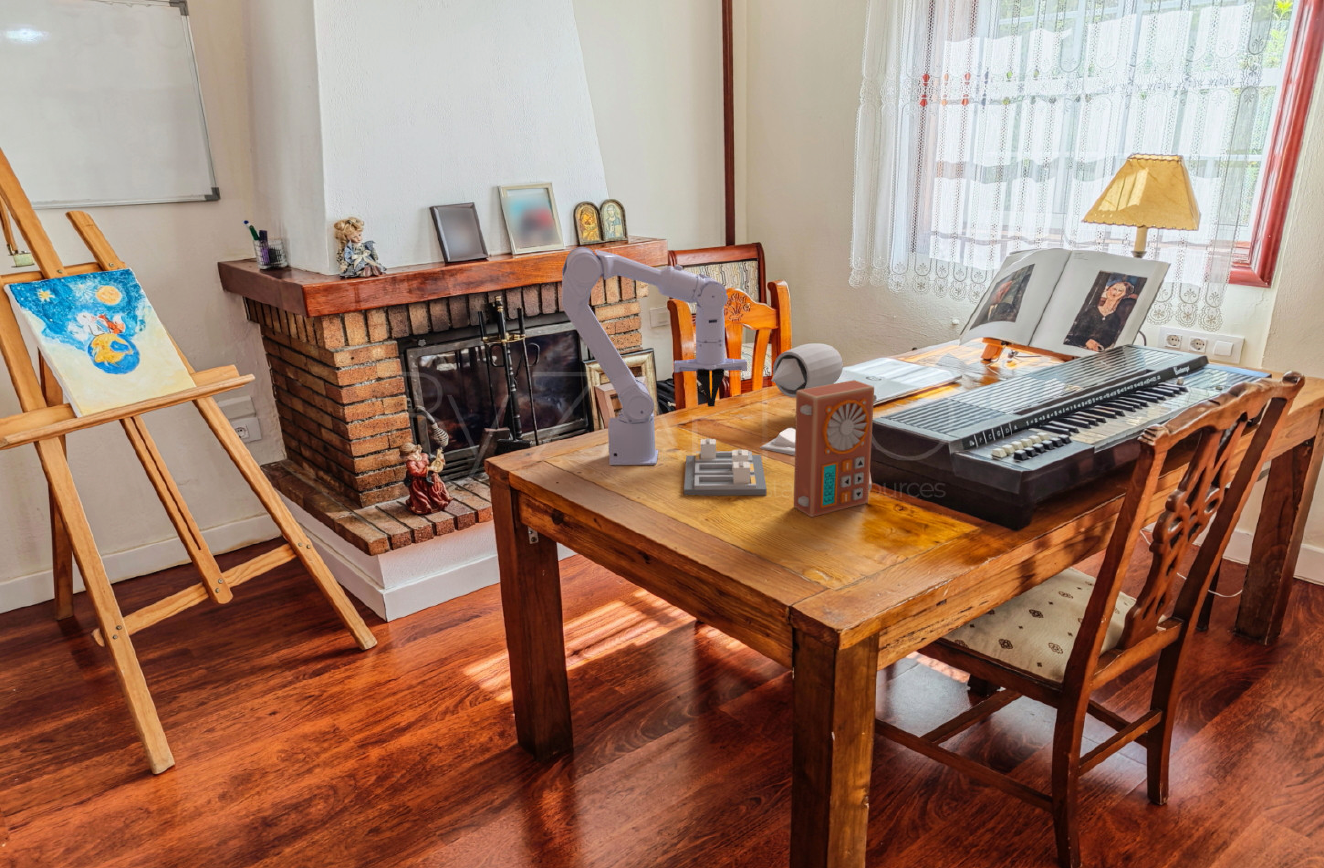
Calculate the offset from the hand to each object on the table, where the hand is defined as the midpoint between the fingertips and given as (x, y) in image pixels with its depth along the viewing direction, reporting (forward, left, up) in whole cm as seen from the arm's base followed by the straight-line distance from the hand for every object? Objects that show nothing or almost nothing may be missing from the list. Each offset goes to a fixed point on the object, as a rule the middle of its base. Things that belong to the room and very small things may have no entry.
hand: (711, 405), depth 178 cm
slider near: (+5, -20, -9) cm, 23 cm away
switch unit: (+2, -14, -10) cm, 17 cm away
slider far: (-1, -7, -9) cm, 11 cm away
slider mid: (+5, -14, -9) cm, 17 cm away
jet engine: (+21, +22, -11) cm, 32 cm away
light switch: (+18, +4, -11) cm, 22 cm away
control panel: (+21, -27, -11) cm, 36 cm away
